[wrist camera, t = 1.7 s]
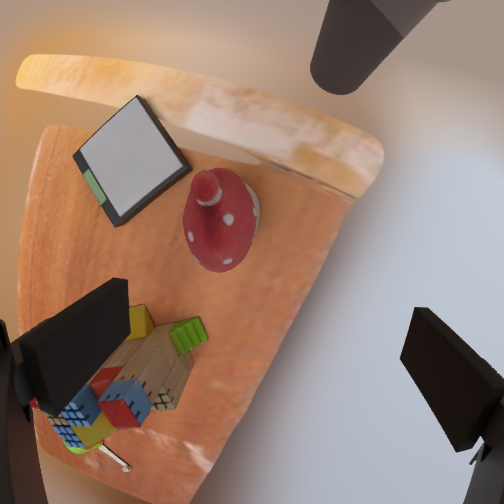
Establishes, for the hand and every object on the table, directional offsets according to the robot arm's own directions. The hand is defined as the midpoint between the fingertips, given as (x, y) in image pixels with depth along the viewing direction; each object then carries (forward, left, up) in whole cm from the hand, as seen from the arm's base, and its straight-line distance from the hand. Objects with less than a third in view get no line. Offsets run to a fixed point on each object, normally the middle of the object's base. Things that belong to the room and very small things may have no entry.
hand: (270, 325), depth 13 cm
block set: (+29, +3, -25) cm, 38 cm away
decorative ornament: (+3, -5, -25) cm, 26 cm away
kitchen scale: (+10, -18, -25) cm, 32 cm away
